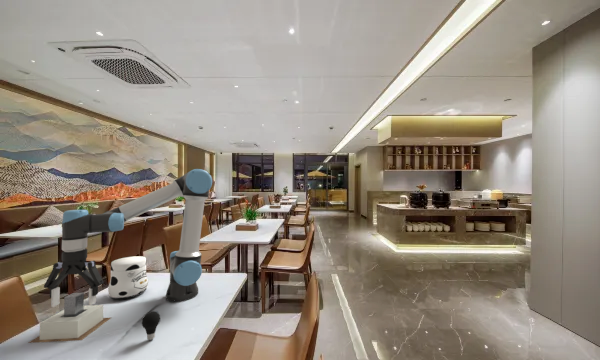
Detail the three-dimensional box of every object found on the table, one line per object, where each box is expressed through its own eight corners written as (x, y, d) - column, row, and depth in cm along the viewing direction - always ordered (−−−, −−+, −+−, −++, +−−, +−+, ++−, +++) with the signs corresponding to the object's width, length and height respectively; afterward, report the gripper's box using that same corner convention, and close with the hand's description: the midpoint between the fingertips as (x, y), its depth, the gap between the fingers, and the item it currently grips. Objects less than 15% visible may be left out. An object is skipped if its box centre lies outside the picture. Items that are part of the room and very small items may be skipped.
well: (103, 319, 105) (103, 304, 105) (77, 338, 92) (77, 321, 92) (69, 321, 104) (70, 306, 104) (39, 339, 91) (39, 322, 91)
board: (111, 320, 106) (111, 317, 106) (81, 343, 90) (81, 340, 90) (66, 322, 105) (66, 319, 105) (27, 346, 89) (27, 342, 89)
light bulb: (146, 335, 95) (146, 308, 95) (163, 334, 95) (163, 307, 95) (138, 345, 89) (138, 316, 89) (155, 344, 89) (155, 315, 90)
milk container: (148, 296, 130) (148, 261, 131) (106, 305, 121) (106, 267, 121) (147, 285, 145) (147, 254, 145) (109, 292, 135) (110, 258, 136)
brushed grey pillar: (83, 323, 100) (83, 292, 100) (74, 328, 96) (75, 296, 96) (72, 323, 100) (73, 292, 100) (63, 329, 96) (64, 297, 96)
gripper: (114, 246, 103) (114, 299, 103) (49, 248, 102) (48, 301, 101) (101, 250, 96) (100, 307, 95) (31, 252, 94) (30, 310, 94)
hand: (73, 304), depth 98 cm, fingers open, 13 cm apart
